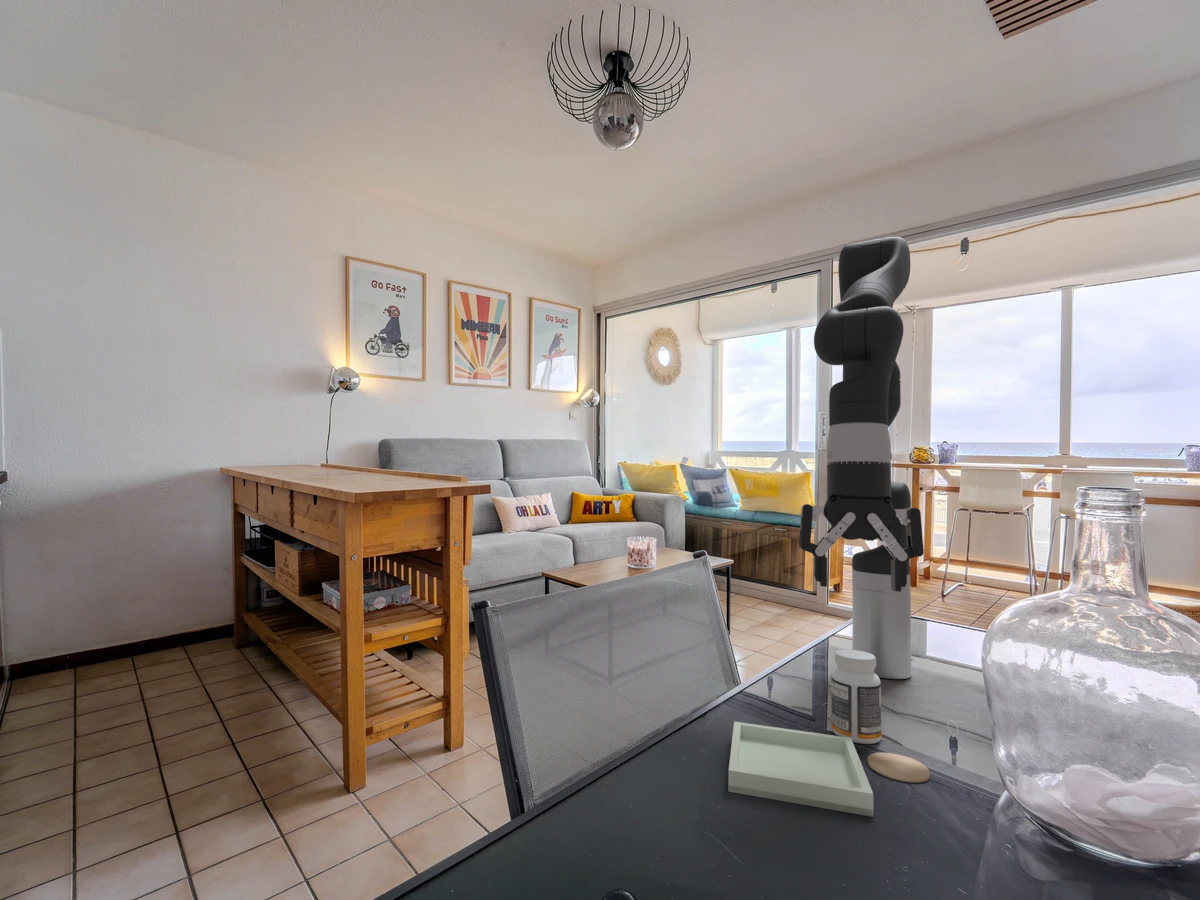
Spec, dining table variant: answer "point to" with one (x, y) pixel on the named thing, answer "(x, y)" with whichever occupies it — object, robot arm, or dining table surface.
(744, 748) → the tray
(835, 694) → the pill bottle
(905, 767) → the coaster
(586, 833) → the dining table surface
